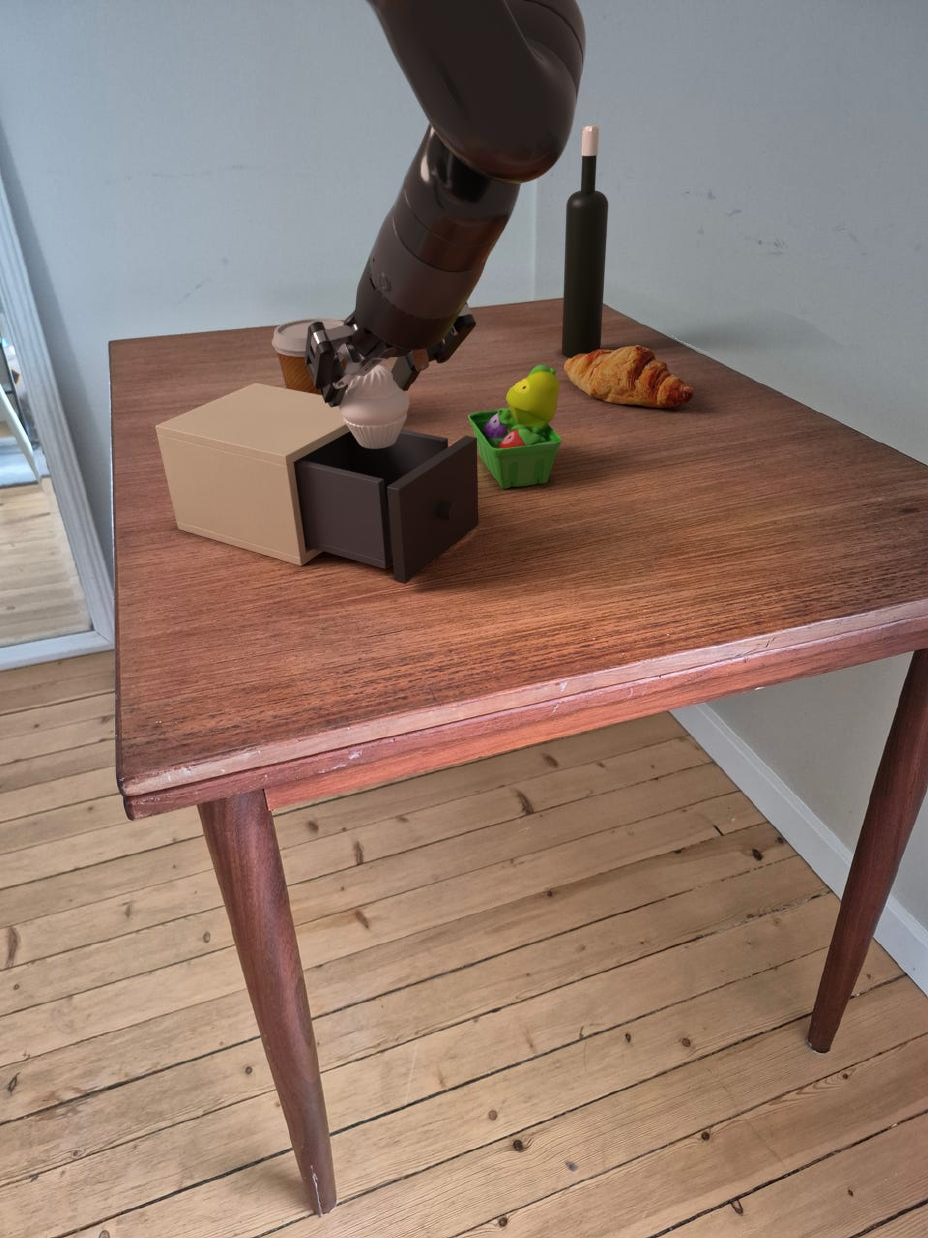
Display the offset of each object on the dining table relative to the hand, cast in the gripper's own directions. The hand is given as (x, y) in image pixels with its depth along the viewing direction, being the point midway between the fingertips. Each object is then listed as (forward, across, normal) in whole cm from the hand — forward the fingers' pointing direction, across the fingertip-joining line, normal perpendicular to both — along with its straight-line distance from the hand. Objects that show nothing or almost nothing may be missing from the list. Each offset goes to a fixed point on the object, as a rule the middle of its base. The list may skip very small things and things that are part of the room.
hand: (364, 389), depth 78 cm
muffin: (+2, 0, +4) cm, 5 cm away
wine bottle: (+36, -52, -16) cm, 66 cm away
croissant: (+24, -46, -2) cm, 52 cm away
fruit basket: (+15, -20, +6) cm, 26 cm away
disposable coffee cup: (+33, -8, -12) cm, 36 cm away
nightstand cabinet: (+17, +6, +4) cm, 19 cm away
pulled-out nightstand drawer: (+9, 0, +11) cm, 14 cm away
